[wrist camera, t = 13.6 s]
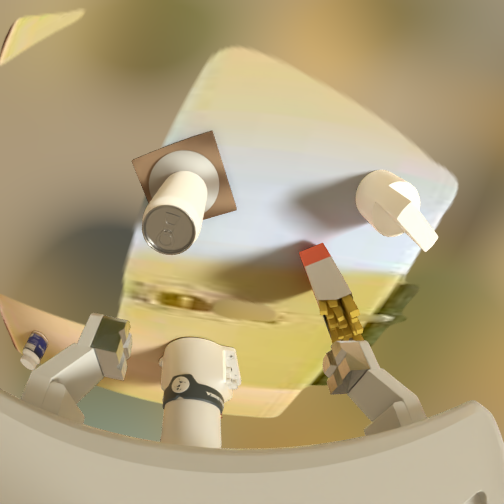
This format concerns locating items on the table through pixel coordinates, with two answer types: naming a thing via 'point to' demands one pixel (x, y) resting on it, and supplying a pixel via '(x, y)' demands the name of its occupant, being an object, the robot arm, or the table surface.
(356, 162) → the table surface
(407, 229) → the base with upright slab
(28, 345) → the pill bottle
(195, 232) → the can
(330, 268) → the french fries container
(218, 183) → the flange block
